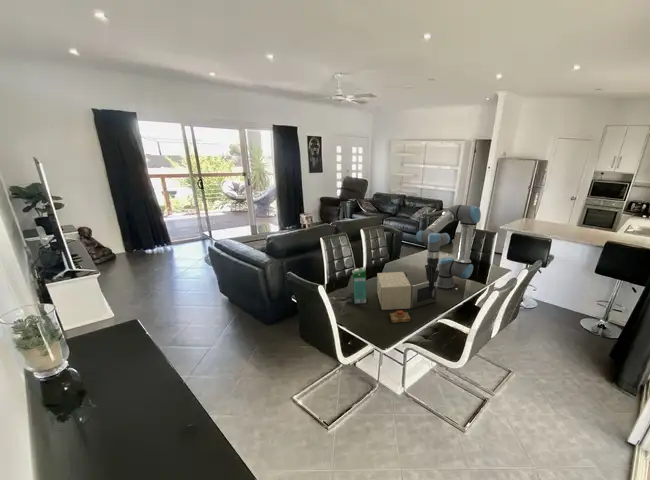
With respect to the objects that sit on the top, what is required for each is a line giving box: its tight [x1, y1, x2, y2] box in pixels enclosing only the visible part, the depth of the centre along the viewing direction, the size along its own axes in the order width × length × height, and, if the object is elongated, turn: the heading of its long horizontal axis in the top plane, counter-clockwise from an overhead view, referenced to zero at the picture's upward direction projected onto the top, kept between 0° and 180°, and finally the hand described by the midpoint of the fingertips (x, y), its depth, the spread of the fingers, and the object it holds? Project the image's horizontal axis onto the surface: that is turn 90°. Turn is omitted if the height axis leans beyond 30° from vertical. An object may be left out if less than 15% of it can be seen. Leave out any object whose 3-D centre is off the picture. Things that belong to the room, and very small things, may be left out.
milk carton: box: [352, 266, 368, 305], centre depth 231 cm, size 9×9×25 cm
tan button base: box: [389, 311, 411, 324], centre depth 209 cm, size 12×9×4 cm
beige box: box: [376, 271, 412, 311], centre depth 232 cm, size 22×28×17 cm
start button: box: [396, 309, 404, 315], centre depth 208 cm, size 4×4×2 cm
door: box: [410, 280, 438, 309], centre depth 223 cm, size 5×21×17 cm, turn 121°
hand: (431, 290), depth 217 cm, fingers closed
